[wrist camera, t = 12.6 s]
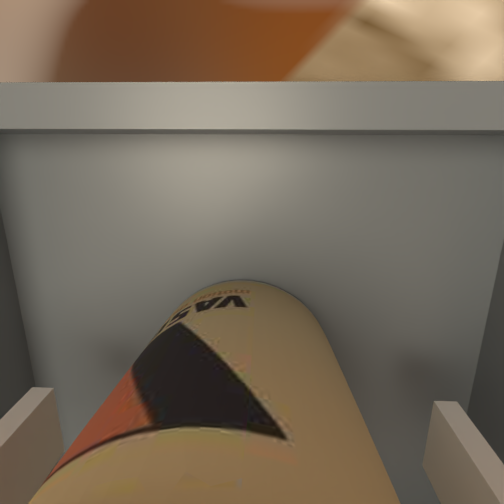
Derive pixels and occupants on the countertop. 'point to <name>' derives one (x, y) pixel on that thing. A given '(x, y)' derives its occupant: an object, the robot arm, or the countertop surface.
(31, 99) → the walled box
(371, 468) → the coffee cup
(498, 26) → the countertop surface
